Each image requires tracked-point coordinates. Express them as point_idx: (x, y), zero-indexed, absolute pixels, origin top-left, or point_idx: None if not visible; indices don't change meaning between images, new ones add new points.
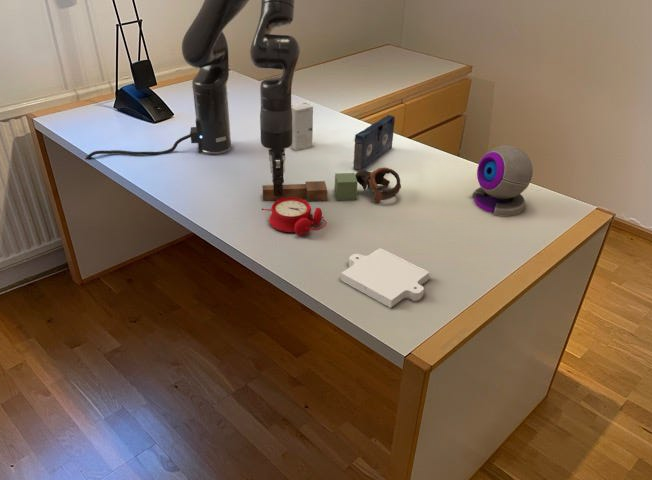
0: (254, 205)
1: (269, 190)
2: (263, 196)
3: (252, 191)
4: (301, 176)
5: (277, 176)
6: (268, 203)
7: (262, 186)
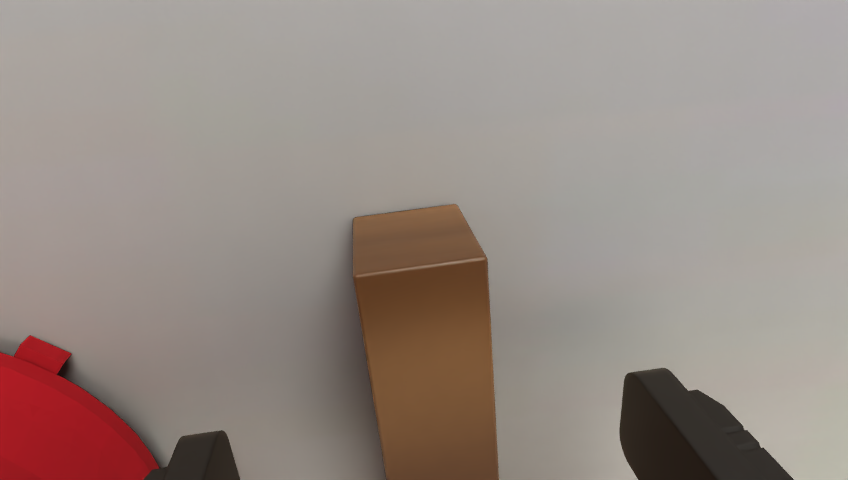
0: (227, 128)
1: (367, 347)
2: (354, 240)
3: (571, 73)
4: None
5: (642, 445)
6: (295, 274)
7: (461, 258)
